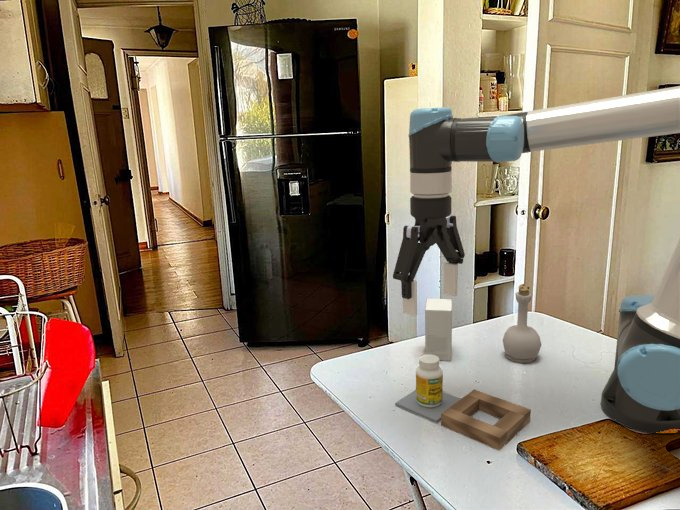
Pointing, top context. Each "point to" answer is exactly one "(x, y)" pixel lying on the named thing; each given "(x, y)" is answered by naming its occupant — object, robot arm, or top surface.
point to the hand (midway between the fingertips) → (431, 304)
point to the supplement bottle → (429, 381)
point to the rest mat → (425, 412)
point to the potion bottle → (522, 332)
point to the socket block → (488, 434)
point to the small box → (438, 328)
